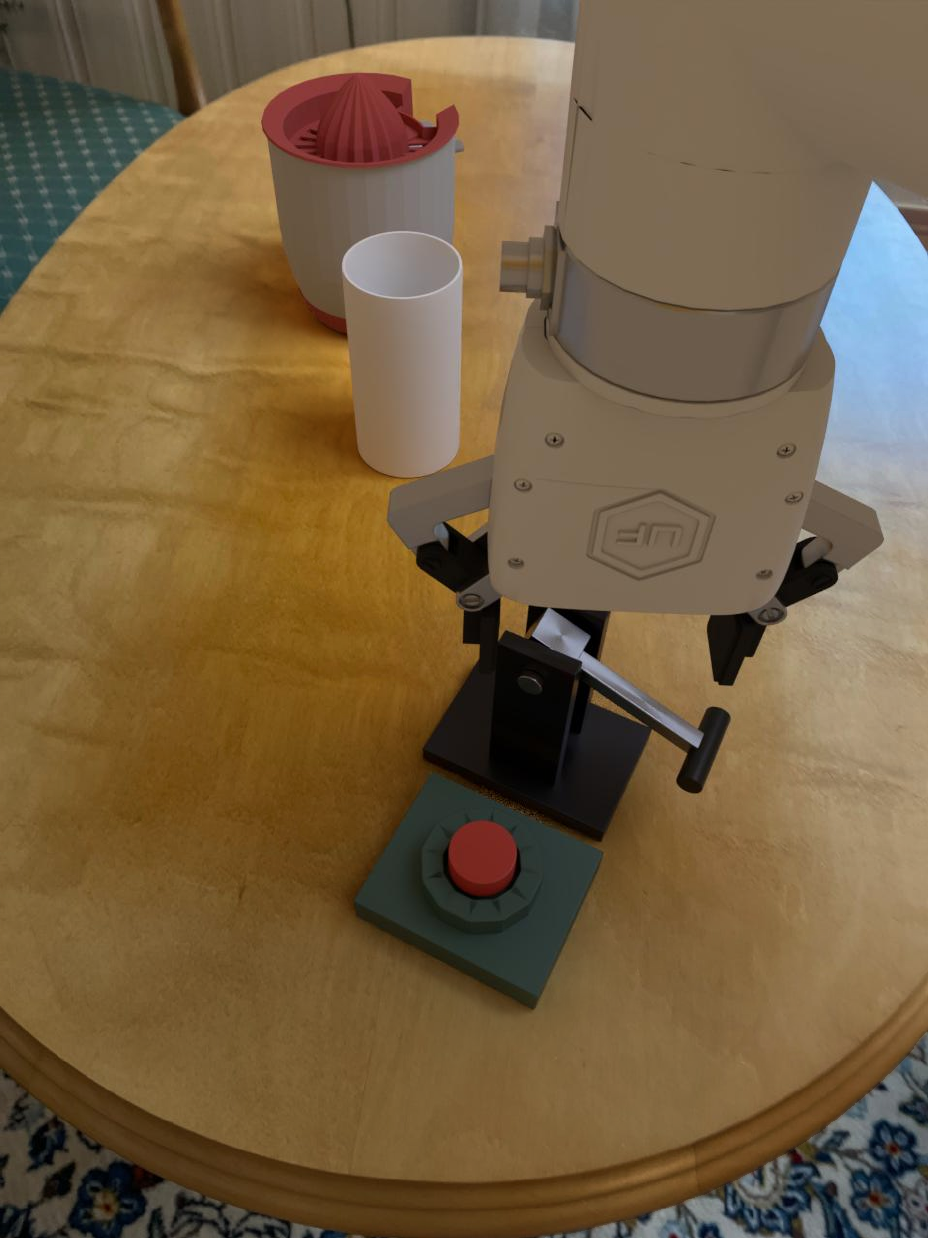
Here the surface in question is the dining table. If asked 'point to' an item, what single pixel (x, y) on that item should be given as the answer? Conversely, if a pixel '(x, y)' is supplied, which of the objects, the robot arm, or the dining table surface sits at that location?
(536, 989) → the button box
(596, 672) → the lever
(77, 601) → the dining table surface
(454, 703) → the bracket
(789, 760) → the dining table surface
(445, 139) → the citrus juicer
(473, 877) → the button
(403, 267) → the cup
